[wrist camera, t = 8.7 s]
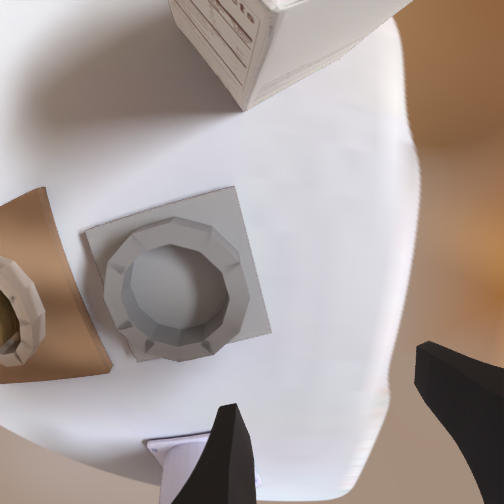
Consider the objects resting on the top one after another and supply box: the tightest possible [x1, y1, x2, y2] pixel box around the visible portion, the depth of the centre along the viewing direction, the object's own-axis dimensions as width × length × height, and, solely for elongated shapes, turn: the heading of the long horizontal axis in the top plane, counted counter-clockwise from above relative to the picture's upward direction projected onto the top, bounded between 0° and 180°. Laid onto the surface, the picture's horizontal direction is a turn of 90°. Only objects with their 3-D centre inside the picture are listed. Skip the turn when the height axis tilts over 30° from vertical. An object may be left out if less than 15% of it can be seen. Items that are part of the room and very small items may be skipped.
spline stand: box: [85, 186, 272, 362], centre depth 17 cm, size 9×9×3 cm
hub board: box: [0, 187, 113, 384], centre depth 17 cm, size 13×13×3 cm
